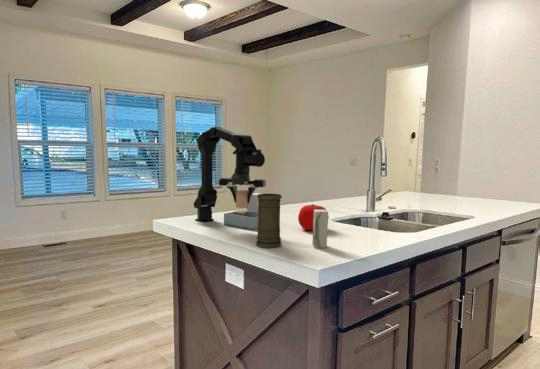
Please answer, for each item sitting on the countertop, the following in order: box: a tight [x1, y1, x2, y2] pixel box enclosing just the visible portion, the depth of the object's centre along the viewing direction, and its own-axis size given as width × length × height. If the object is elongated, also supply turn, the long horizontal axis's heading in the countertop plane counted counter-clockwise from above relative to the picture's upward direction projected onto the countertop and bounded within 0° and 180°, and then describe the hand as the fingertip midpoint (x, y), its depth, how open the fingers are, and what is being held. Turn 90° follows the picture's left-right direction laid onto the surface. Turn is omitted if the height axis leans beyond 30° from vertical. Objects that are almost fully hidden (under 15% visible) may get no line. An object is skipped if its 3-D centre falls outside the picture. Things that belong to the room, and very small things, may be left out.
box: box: [311, 209, 329, 249], centre depth 133 cm, size 5×4×13 cm
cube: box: [233, 209, 249, 217], centre depth 171 cm, size 5×5×5 cm
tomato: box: [297, 203, 330, 232], centre depth 161 cm, size 12×13×11 cm
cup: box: [245, 192, 262, 212], centre depth 185 cm, size 8×8×12 cm
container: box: [255, 193, 282, 249], centre depth 134 cm, size 9×9×18 cm
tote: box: [223, 209, 258, 231], centre depth 169 cm, size 17×13×5 cm
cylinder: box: [235, 189, 248, 209], centre depth 157 cm, size 5×5×7 cm
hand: (242, 203), depth 157 cm, fingers closed on cylinder, 5 cm apart
